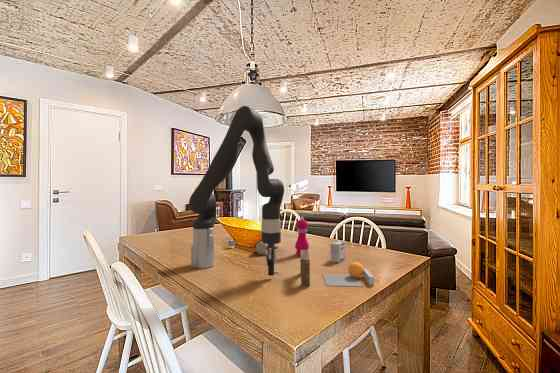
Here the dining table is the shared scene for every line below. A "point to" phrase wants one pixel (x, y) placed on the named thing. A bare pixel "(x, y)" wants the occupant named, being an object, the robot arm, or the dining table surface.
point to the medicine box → (337, 251)
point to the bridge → (305, 268)
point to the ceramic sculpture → (262, 248)
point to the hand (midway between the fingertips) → (271, 275)
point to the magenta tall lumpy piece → (301, 236)
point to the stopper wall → (368, 277)
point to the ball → (355, 269)
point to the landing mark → (341, 280)
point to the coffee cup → (231, 243)
